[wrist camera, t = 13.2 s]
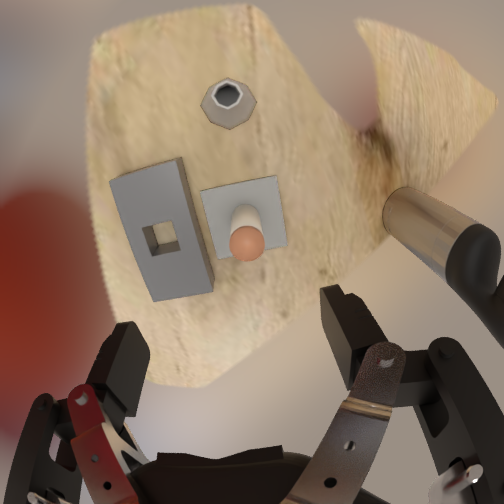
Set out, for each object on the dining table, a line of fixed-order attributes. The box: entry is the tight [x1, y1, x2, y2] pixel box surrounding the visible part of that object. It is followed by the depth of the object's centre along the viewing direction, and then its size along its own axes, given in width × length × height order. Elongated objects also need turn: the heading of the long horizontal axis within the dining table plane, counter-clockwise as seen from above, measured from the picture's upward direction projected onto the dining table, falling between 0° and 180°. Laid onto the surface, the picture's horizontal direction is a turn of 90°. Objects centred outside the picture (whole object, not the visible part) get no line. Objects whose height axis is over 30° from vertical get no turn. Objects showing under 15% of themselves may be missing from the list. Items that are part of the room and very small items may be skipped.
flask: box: [200, 78, 257, 130], centre depth 29 cm, size 7×7×10 cm
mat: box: [200, 175, 288, 259], centre depth 40 cm, size 11×11×1 cm
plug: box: [229, 204, 265, 261], centre depth 35 cm, size 4×4×10 cm
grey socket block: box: [109, 157, 214, 302], centre depth 39 cm, size 10×20×4 cm, turn 11°
